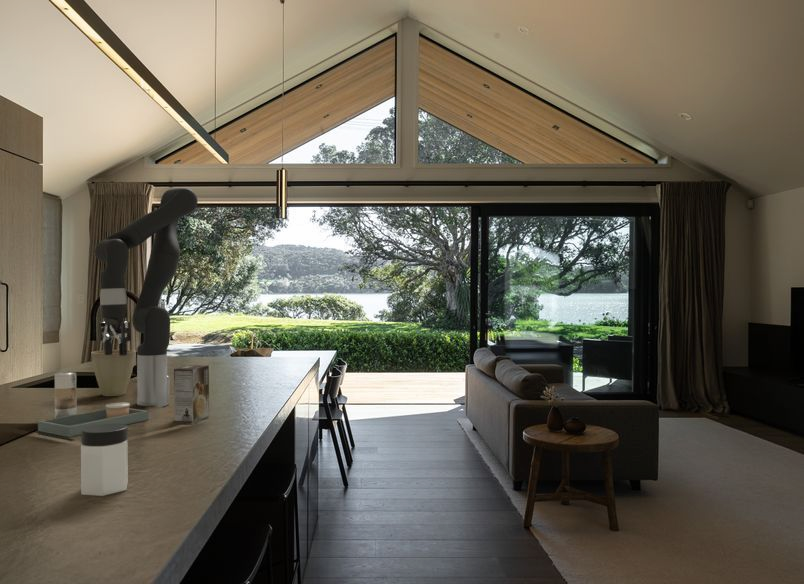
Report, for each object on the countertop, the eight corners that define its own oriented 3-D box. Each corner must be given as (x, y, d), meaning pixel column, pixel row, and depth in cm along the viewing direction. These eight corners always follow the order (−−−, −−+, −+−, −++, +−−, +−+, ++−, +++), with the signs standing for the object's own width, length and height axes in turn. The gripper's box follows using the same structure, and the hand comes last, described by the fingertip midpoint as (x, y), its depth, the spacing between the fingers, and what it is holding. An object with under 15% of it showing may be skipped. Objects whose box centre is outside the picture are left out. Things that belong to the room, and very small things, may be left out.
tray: (117, 418, 188) (117, 406, 188) (148, 423, 181) (148, 411, 181) (38, 434, 167) (37, 421, 167) (69, 440, 160) (69, 427, 160)
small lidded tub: (120, 417, 184) (120, 401, 184) (134, 419, 181) (134, 403, 181) (100, 421, 179) (100, 405, 179) (115, 423, 176) (115, 407, 176)
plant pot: (124, 398, 222) (124, 353, 221) (83, 398, 222) (83, 353, 222) (142, 391, 236) (142, 349, 236) (103, 391, 237) (103, 349, 237)
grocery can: (69, 418, 188) (68, 371, 188) (80, 420, 185) (80, 373, 185) (50, 421, 183) (50, 374, 183) (62, 423, 180) (62, 375, 180)
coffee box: (190, 417, 189) (190, 364, 188) (209, 418, 187) (209, 365, 187) (173, 424, 180) (173, 368, 179) (193, 425, 178) (193, 369, 178)
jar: (118, 479, 127) (117, 421, 127) (137, 487, 122) (137, 426, 122) (72, 490, 121) (71, 428, 121) (90, 499, 115) (90, 435, 115)
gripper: (137, 302, 193) (139, 354, 193) (113, 303, 202) (115, 353, 202) (114, 303, 187) (116, 357, 187) (90, 304, 196) (92, 355, 196)
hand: (115, 355), depth 194 cm, fingers open, 8 cm apart
